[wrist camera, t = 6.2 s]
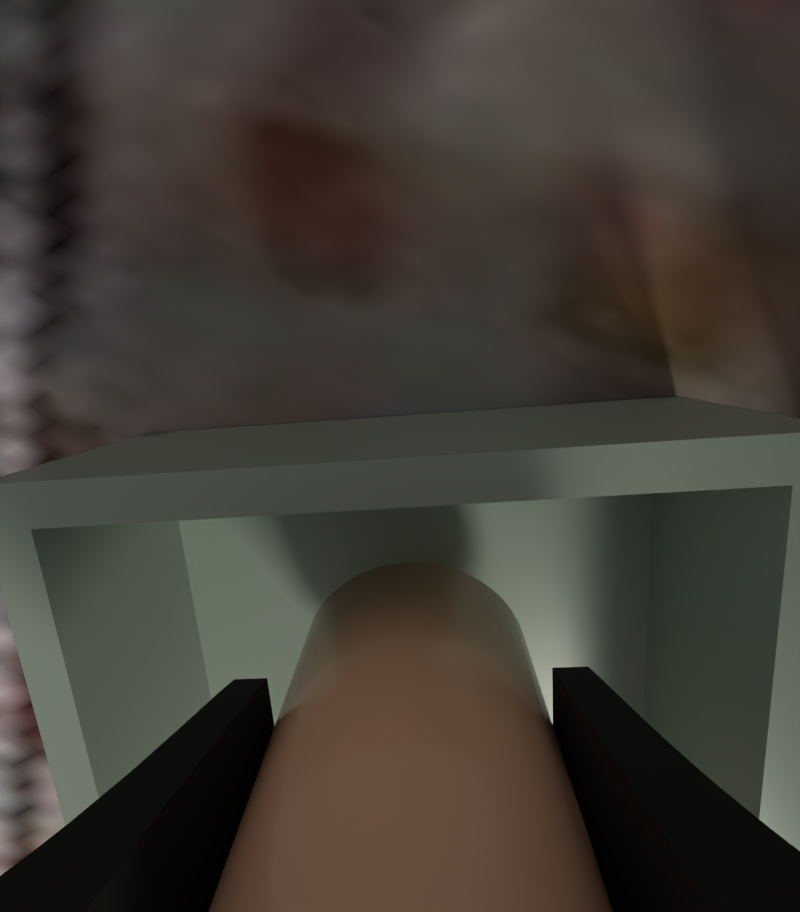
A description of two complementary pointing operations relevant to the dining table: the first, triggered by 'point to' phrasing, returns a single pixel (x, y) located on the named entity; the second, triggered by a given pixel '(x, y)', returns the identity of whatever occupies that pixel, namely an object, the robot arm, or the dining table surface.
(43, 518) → the tote
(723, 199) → the dining table surface
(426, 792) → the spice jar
